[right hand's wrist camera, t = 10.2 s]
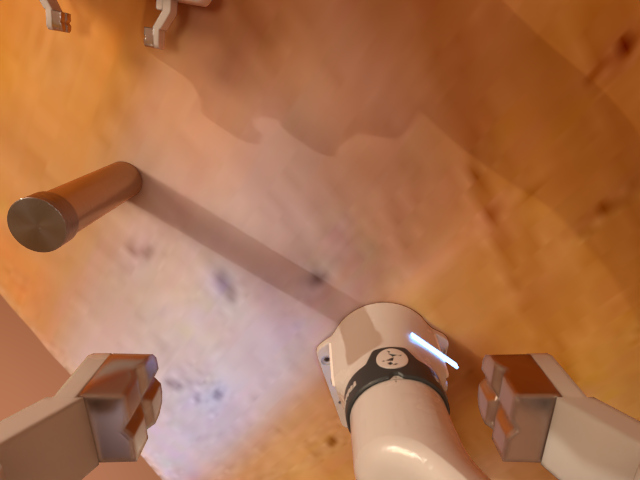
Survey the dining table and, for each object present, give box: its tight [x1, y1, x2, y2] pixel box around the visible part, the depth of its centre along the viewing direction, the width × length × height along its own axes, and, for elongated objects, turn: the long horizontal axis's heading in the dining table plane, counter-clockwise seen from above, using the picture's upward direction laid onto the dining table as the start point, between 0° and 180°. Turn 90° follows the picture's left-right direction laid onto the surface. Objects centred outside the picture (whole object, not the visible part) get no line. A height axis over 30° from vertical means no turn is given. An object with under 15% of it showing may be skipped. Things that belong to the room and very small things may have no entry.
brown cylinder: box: [46, 162, 142, 232], centre depth 46 cm, size 4×4×17 cm
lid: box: [7, 191, 79, 252], centre depth 38 cm, size 5×5×2 cm
